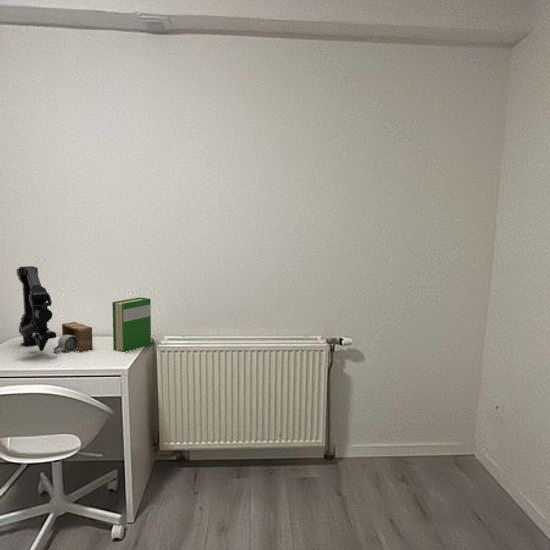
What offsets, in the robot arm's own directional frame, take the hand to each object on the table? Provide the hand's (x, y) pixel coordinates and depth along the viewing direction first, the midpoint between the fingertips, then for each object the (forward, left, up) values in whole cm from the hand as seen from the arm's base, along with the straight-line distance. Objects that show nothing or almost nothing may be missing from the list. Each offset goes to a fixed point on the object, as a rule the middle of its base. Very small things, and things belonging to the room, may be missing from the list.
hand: (41, 350), depth 197 cm
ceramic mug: (+1, +11, -2) cm, 11 cm away
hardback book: (+19, +36, -2) cm, 41 cm away
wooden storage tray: (0, +17, -2) cm, 17 cm away
